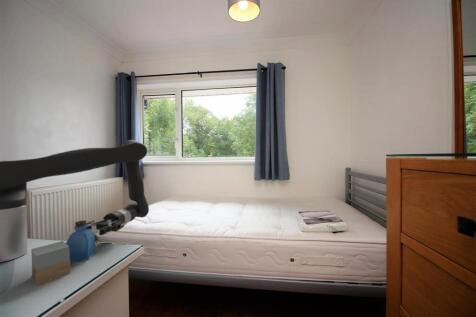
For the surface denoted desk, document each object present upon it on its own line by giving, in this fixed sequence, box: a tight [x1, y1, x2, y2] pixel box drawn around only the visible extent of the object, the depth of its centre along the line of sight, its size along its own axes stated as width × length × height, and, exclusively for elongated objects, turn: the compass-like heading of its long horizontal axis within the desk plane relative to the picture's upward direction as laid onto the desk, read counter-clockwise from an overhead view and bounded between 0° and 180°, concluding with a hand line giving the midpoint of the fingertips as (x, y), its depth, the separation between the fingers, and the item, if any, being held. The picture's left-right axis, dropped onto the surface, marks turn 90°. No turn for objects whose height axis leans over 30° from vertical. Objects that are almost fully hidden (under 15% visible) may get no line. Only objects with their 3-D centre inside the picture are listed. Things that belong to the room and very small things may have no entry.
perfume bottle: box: [65, 220, 96, 263], centre depth 70 cm, size 6×6×12 cm
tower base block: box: [31, 260, 72, 286], centre depth 59 cm, size 7×7×4 cm
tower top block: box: [30, 240, 70, 271], centre depth 59 cm, size 7×7×4 cm
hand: (88, 232), depth 73 cm, fingers open, 8 cm apart
